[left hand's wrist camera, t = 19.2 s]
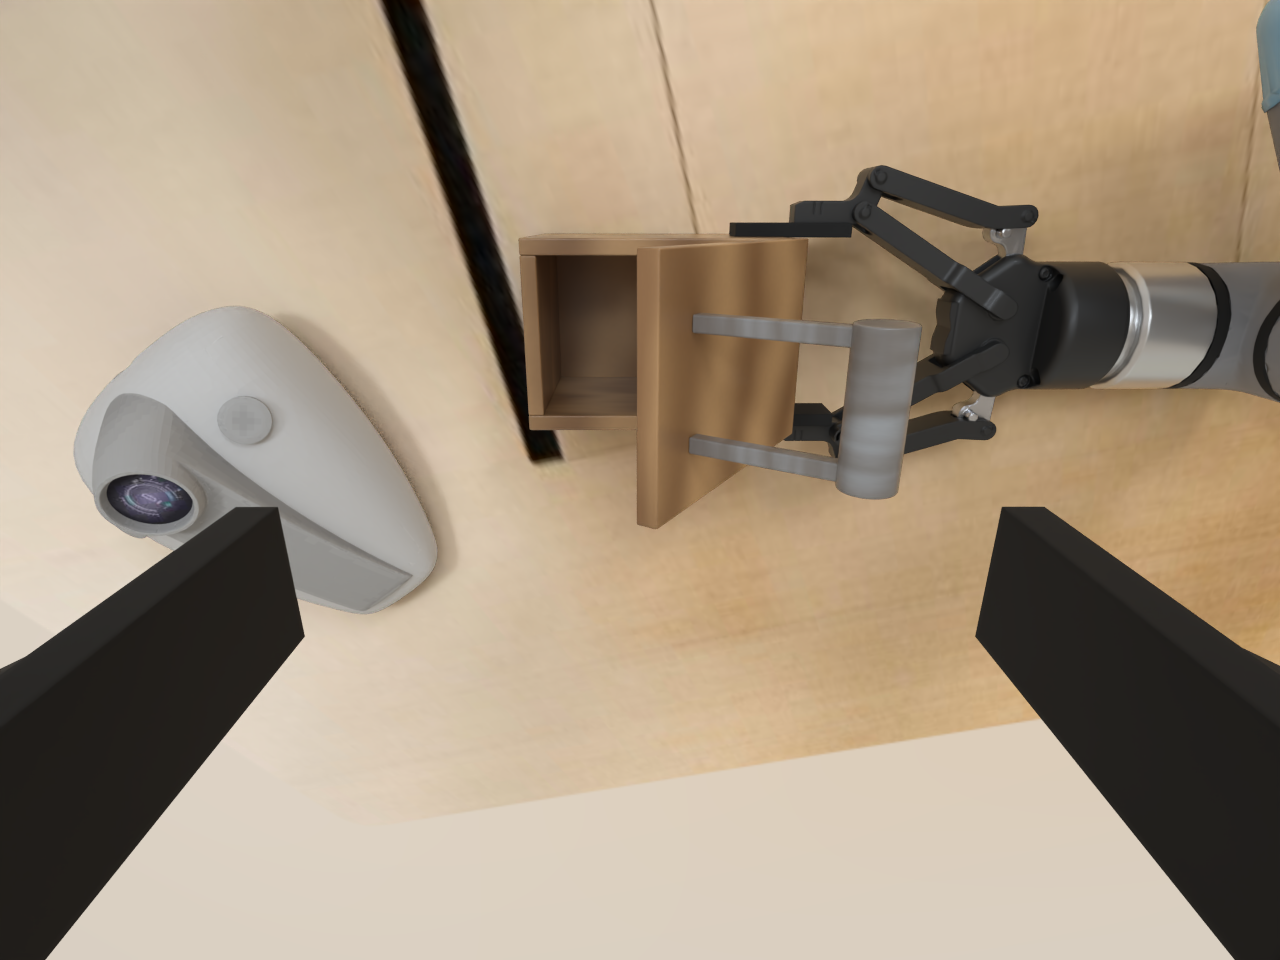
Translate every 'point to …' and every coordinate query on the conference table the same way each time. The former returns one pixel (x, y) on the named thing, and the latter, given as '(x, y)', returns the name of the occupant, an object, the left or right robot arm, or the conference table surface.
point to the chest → (586, 325)
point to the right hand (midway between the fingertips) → (727, 326)
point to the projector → (256, 458)
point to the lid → (753, 376)
